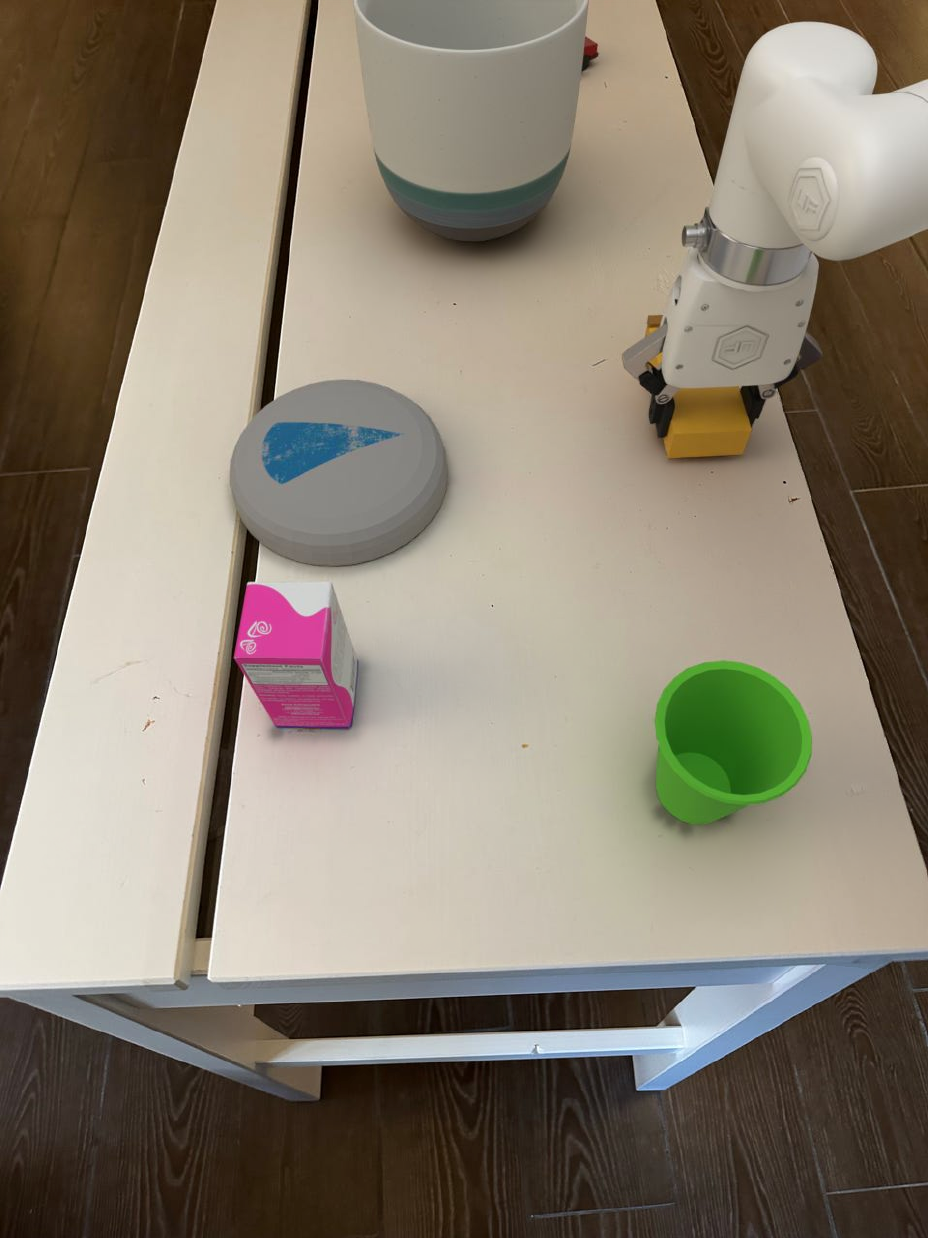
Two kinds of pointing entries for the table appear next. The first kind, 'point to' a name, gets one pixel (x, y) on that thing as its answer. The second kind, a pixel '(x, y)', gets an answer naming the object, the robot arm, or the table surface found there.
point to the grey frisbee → (338, 472)
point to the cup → (727, 741)
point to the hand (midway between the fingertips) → (700, 422)
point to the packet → (704, 417)
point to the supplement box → (298, 654)
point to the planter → (471, 106)
